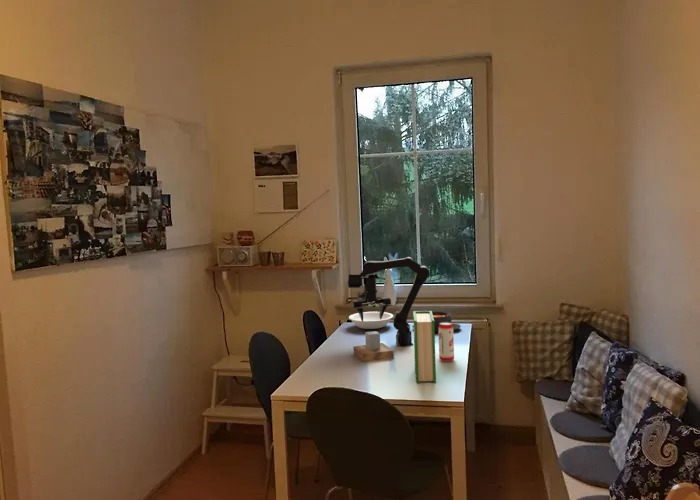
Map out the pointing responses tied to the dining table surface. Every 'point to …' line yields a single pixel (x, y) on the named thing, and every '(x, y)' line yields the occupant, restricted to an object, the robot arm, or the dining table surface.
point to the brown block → (373, 353)
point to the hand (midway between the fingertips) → (371, 320)
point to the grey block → (372, 340)
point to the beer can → (446, 342)
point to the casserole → (442, 319)
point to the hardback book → (424, 346)
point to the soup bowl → (371, 320)
